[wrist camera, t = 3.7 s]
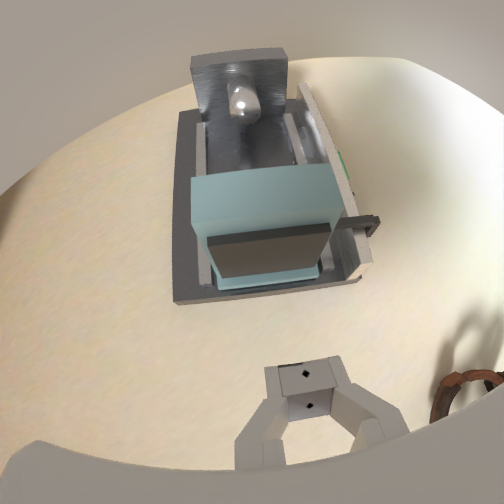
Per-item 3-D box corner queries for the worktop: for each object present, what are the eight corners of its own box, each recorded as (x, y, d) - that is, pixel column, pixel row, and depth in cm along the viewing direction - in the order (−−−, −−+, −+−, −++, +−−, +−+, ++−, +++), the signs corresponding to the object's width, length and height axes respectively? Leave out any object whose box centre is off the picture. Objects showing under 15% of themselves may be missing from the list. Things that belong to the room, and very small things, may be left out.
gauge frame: (356, 282, 24) (402, 238, 15) (178, 305, 24) (132, 270, 15) (302, 107, 33) (308, 47, 24) (181, 120, 33) (165, 61, 24)
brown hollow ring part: (445, 468, 16) (460, 482, 10) (406, 411, 23) (409, 407, 17) (522, 392, 15) (553, 379, 9) (481, 340, 22) (502, 313, 16)
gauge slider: (368, 269, 22) (421, 216, 14) (219, 290, 22) (191, 241, 13) (354, 218, 24) (391, 150, 15) (215, 234, 24) (191, 164, 15)
